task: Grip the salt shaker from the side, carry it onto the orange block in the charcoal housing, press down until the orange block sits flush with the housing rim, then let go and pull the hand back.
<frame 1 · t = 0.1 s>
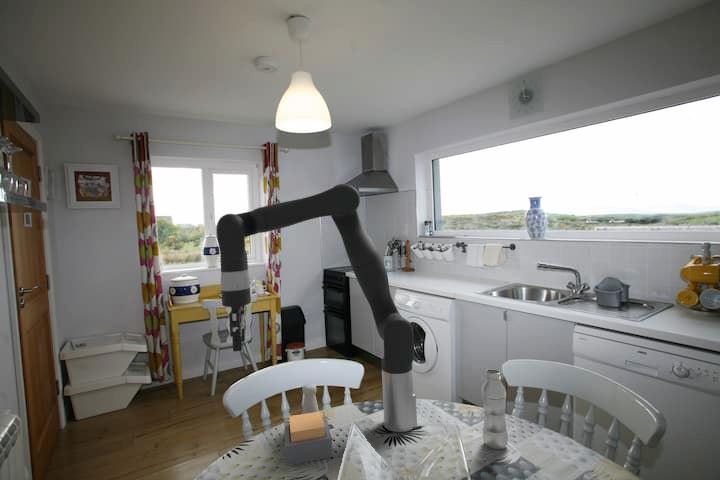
hand: (239, 346, 102), 29 cm above the table, tool pointing down, fingers open, 8 cm apart
salt shaker: (311, 427, 113), on the table
plastic bottle: (495, 446, 99), on the table
housing: (307, 448, 102), on the table
orange block: (306, 427, 102), point 6 cm above the table, slide at 2.5 cm
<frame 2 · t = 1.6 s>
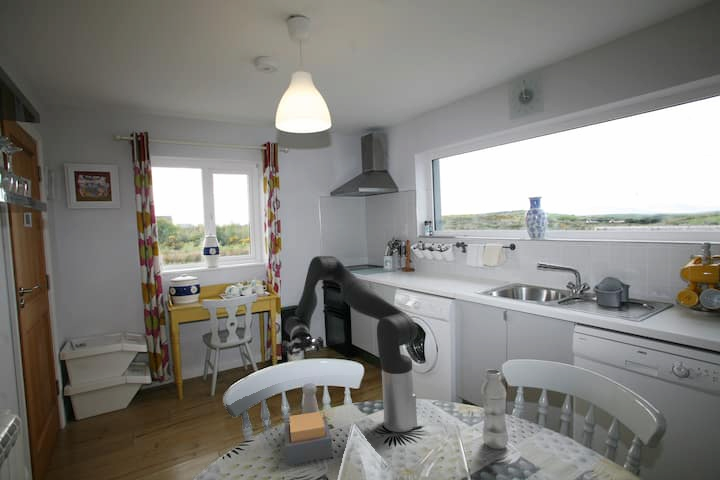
hand: (304, 350, 123), 20 cm above the table, tool horizontal, fingers open, 8 cm apart
nothing on the table moved.
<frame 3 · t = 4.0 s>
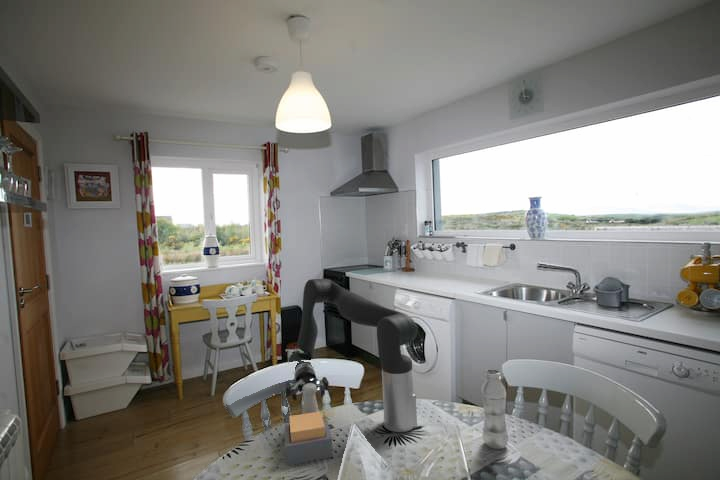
hand: (308, 395, 118), 7 cm above the table, tool horizontal, fingers open, 8 cm apart
nothing on the table moved.
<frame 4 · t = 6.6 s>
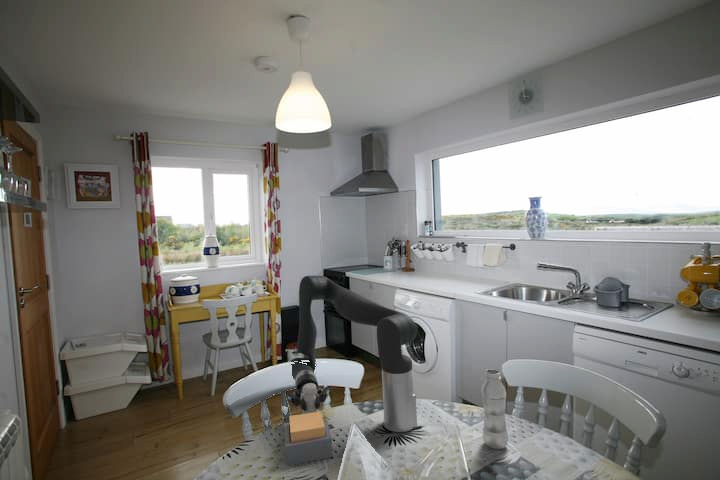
hand: (311, 406, 110), 8 cm above the table, tool horizontal, fingers closed on salt shaker, 3 cm apart
salt shaker: (311, 427, 113), on the table, touching gripper
everything else where it was.
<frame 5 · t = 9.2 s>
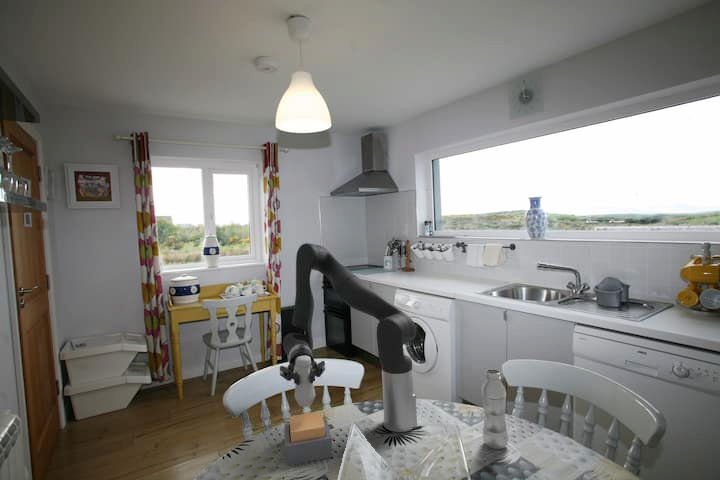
hand: (304, 380, 99), 20 cm above the table, tool horizontal, fingers closed on salt shaker, 3 cm apart
salt shaker: (305, 404, 103), point 12 cm above the table, touching gripper
everything else where it was.
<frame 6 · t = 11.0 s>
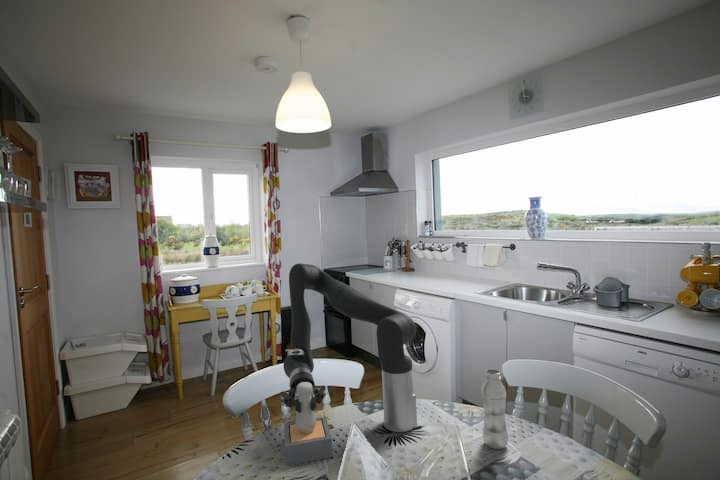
hand: (306, 408, 99), 12 cm above the table, tool horizontal, fingers closed on salt shaker, 3 cm apart
salt shaker: (306, 430, 102), point 5 cm above the table, touching gripper, orange block
orange block: (307, 436, 102), point 3 cm above the table, slide at -0.1 cm, touching salt shaker
everything else where it was.
when the fingers open (12 cm above the table, at t = 12.2 s): salt shaker stays where it is, resting on orange block.
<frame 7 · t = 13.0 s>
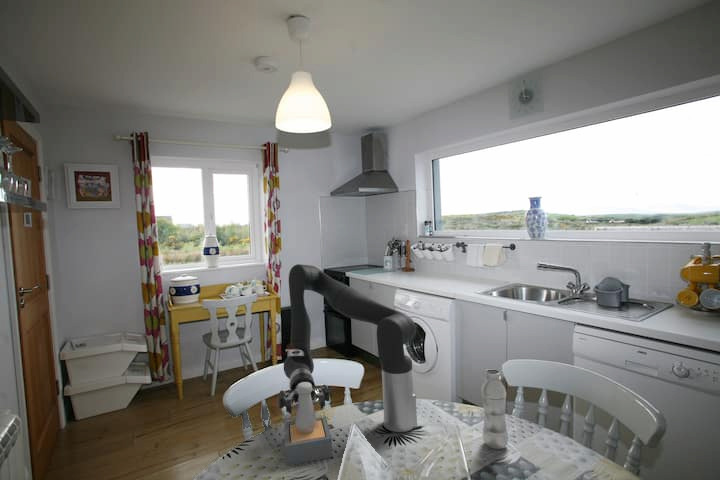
hand: (306, 407, 100), 12 cm above the table, tool horizontal, fingers open, 8 cm apart
salt shaker: (306, 431, 102), point 5 cm above the table, touching orange block
everything else where it was.
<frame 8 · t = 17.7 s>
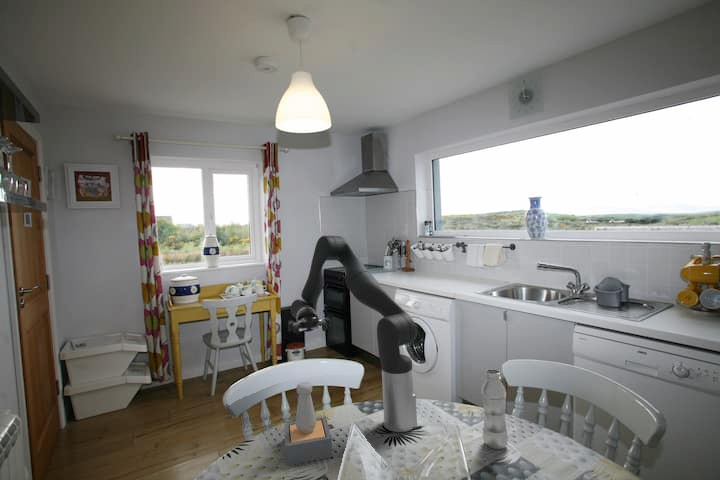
hand: (311, 329, 120), 28 cm above the table, tool horizontal, fingers open, 8 cm apart
nothing on the table moved.
at the end: orange block slide at -0.1 cm; salt shaker 0.2 cm off-centre on the housing, point 4.7 cm above the housing's base; salt shaker tilted 0° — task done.
